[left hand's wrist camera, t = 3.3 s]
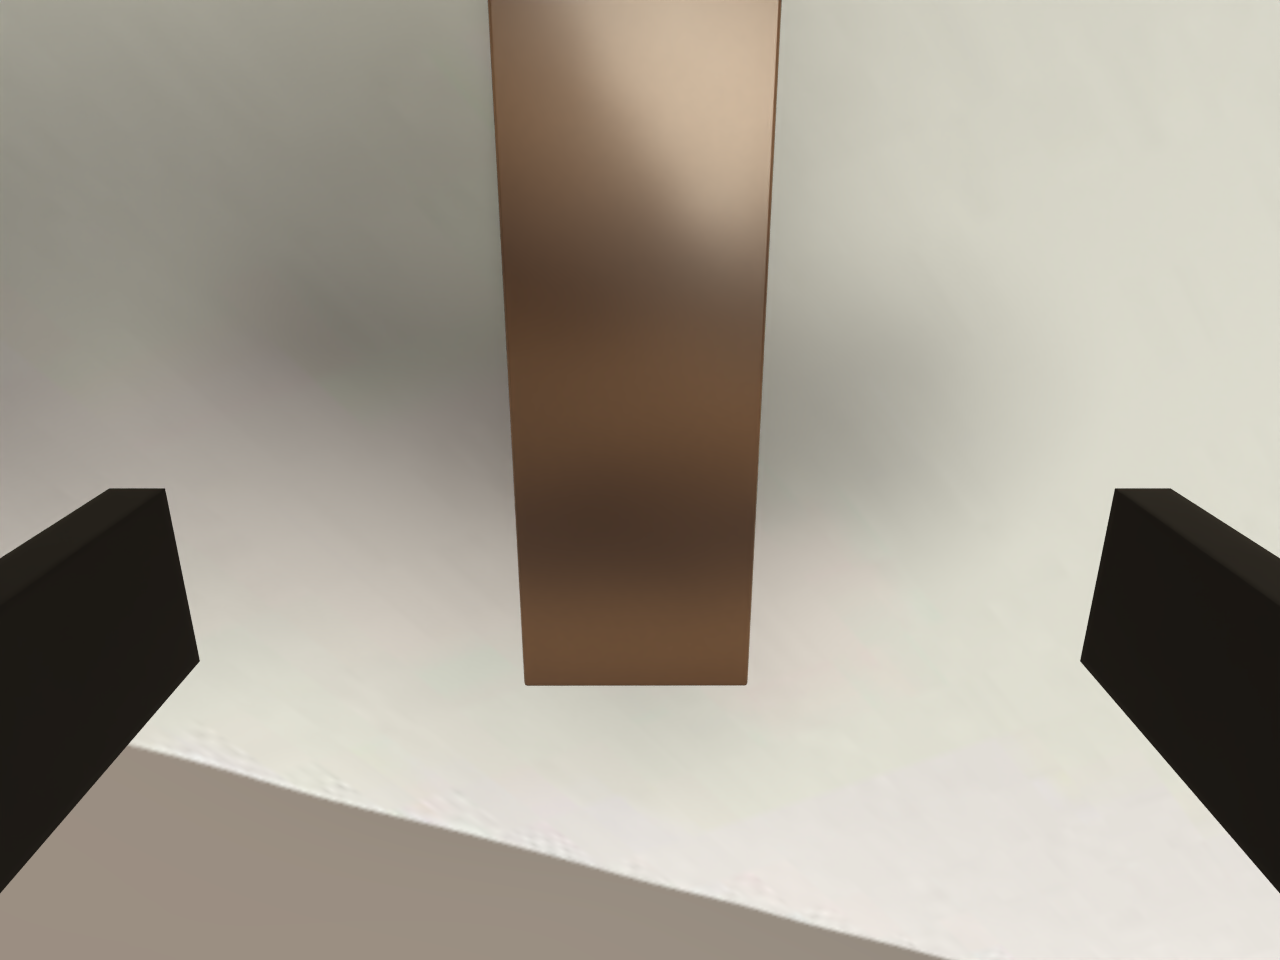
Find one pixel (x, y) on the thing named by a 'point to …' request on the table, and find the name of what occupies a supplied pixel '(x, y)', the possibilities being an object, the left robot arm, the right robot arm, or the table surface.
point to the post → (635, 326)
